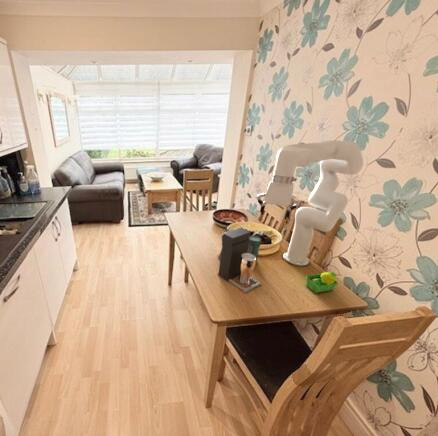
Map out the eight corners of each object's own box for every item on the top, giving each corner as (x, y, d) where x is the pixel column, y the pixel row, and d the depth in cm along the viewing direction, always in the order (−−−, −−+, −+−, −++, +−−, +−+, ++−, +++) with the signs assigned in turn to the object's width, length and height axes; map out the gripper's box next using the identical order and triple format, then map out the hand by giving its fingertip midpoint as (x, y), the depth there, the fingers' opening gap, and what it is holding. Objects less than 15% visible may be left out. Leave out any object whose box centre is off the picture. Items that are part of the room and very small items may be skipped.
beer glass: (252, 288, 114) (258, 261, 108) (237, 286, 115) (241, 260, 109) (249, 278, 120) (254, 253, 114) (235, 277, 121) (239, 252, 115)
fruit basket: (321, 281, 118) (328, 262, 113) (338, 293, 110) (346, 273, 105) (302, 284, 116) (308, 265, 111) (317, 297, 108) (325, 277, 103)
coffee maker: (233, 267, 129) (240, 227, 120) (261, 284, 116) (271, 241, 107) (217, 274, 123) (223, 233, 114) (244, 293, 110) (253, 248, 101)
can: (258, 263, 132) (263, 240, 126) (249, 265, 130) (254, 242, 124) (250, 258, 137) (255, 235, 131) (241, 260, 135) (246, 236, 129)
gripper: (306, 180, 100) (295, 217, 107) (261, 175, 108) (254, 209, 115) (306, 184, 94) (295, 223, 101) (259, 178, 103) (251, 214, 109)
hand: (273, 216), depth 108 cm, fingers open, 9 cm apart
